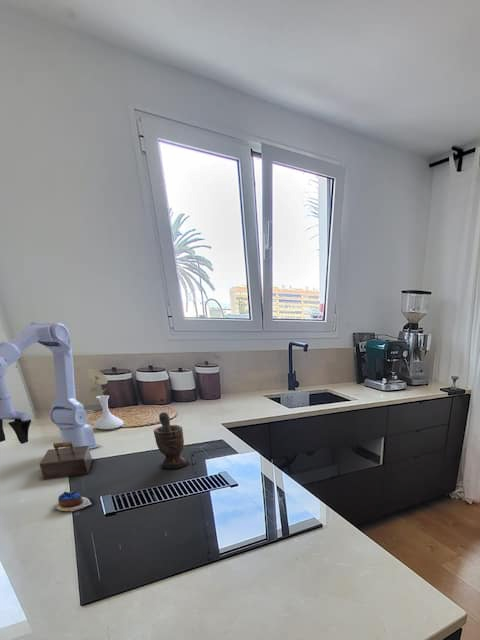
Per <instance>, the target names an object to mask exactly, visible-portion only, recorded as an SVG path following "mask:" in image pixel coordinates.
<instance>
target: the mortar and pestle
mask: <svg viewBox="0 0 480 640" xmlns="http://www.w3.org/2000/svg"><path fill="white" fill-rule="evenodd" d="M158 420H159V422H160V424H161V426H158V427H156V428H154V429H153V434H154V435H153V436H154V439H155V442H156V443H155V444H156V446H157V448H158V450H159V453H160V454H163V455H164V456H165V458H164V460H163V462H162V467H163V468H165V469H173V470H175V469H181V468H183V467H185V466H186V465H187V461H186V459H185V458H183V457H182V456H181V454H182V452H183V451H184V445H185V439H184V431H183V426H182V425H178V424H171V419H170V416H169V414H168V412H165V411H164V412H161V413H159V416H158Z"/></svg>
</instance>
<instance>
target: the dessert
mask: <svg viewBox="0 0 480 640" xmlns="http://www.w3.org/2000/svg"><path fill="white" fill-rule="evenodd" d="M57 502H58V504H57V506H56V510H58V511H62V512H75V511H78V510H81V509H84V508H86V507H88V506H90V505H92V502H91V501H90V499H89V498H88V497H87V496H86V497H85V496H82V495H81V494H80V492H78V491H77V490H75V491H63V493H61V494H60V495H59V496H58V498H57Z"/></svg>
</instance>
